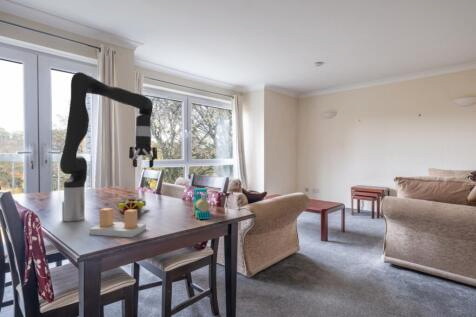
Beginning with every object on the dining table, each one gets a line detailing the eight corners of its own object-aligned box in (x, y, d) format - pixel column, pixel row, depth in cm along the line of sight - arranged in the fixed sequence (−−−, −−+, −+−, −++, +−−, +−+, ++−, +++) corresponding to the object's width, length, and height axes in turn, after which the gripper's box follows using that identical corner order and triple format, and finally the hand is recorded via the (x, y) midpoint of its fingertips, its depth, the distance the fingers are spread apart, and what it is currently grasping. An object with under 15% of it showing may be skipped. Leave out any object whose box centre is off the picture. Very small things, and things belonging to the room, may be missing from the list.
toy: (118, 209, 172) (114, 219, 144) (118, 195, 172) (114, 202, 144) (145, 208, 178) (146, 217, 149) (145, 194, 178) (146, 200, 149)
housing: (89, 234, 119) (89, 228, 119) (106, 226, 131) (106, 221, 131) (131, 237, 116) (132, 231, 116) (145, 229, 128) (145, 224, 127)
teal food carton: (197, 220, 145) (197, 192, 144) (192, 213, 161) (192, 188, 160) (211, 219, 147) (212, 192, 147) (205, 212, 163) (205, 188, 163)
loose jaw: (124, 233, 120) (124, 211, 120) (129, 231, 124) (129, 209, 124) (132, 234, 120) (133, 211, 120) (137, 231, 124) (137, 209, 124)
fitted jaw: (99, 231, 122) (99, 209, 122) (105, 229, 126) (105, 207, 126) (107, 232, 122) (107, 210, 121) (113, 229, 126) (113, 208, 125)
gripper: (126, 135, 137) (126, 167, 137) (153, 135, 134) (152, 168, 135) (134, 135, 144) (134, 166, 145) (159, 136, 142) (159, 167, 142)
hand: (143, 167), depth 140 cm, fingers open, 8 cm apart
